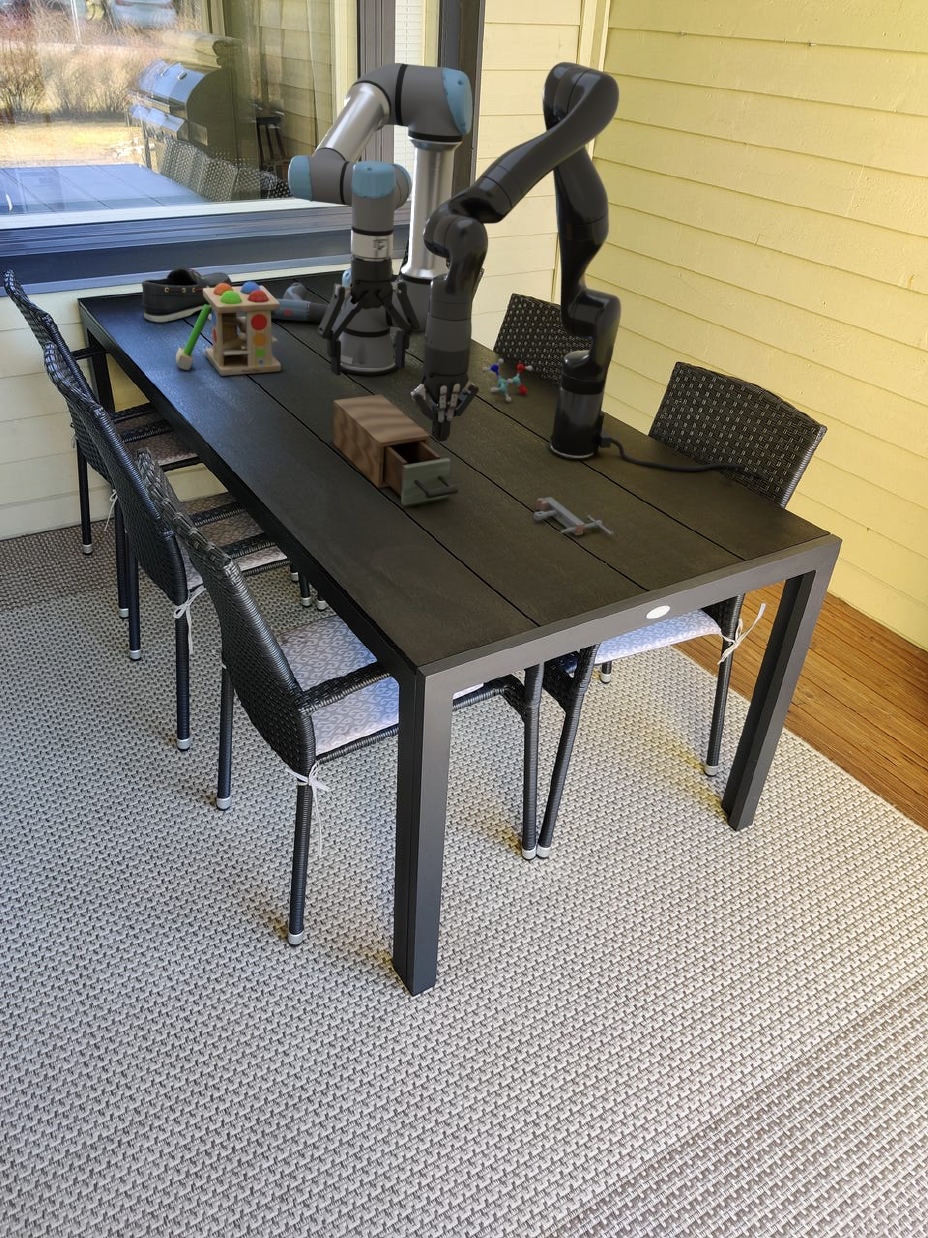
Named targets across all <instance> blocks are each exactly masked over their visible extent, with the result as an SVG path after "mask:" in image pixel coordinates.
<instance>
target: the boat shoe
mask: <svg viewBox="0 0 928 1238" xmlns="http://www.w3.org/2000/svg"><path fill="white" fill-rule="evenodd" d="M221 283H226V284H228V285H230V286H231V287H234V286H233V282H232V278H230V276H229V275H228V274H227V273H226V272H222V271H221V272H213V273H212V272H211V273H207V274H203V275H201V273H199V272H198V271H197V270H195V269H194V268H189V267H185V266H178V267H176V268H174V269H172V270H171V271H170V272H169V273H168V274H167V276H166V277H165V278H159V279H144V280H142V281H141V287H142V303H141V307H142V308H144V310H143V314H144V315H143V316H144V319H145V320H148V321H149V322H154V323H166V322H171V321H175V320H178V319H182V318H186V317H189V316H191V315H193V314H194V313H196V312H199V311H200V310H201V311H202V309H203V307H204V305H208V306H210V307H211V305H210V304H209V302H208V301H207V300H206V299H205V297H204V296H203V289H204V288H215V287H216V286H217V285H218V284H221Z"/></svg>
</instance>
